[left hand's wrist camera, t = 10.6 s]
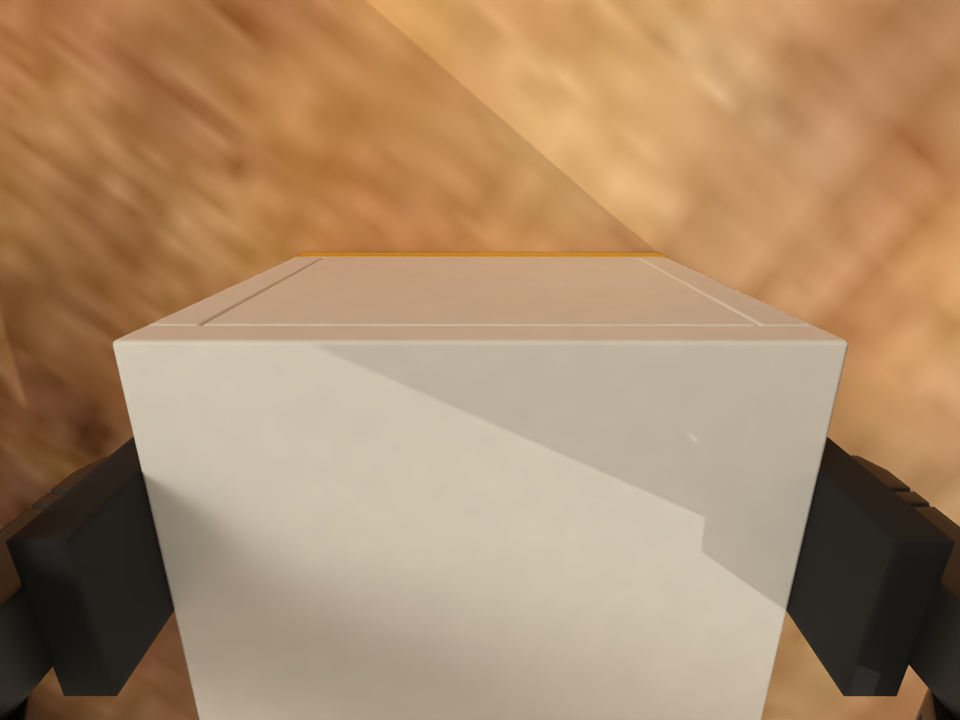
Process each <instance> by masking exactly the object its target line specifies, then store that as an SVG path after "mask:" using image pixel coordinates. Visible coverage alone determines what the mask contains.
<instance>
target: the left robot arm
mask: <svg viewBox="0 0 960 720" xmlns="http://www.w3.org/2000/svg"><path fill="white" fill-rule="evenodd" d="M173 611H174V608H173V603H172V599H171V595H170V590H169V586H168V582H167V577H166V573H165V569H164V564H163V560H162V556H161V551H160V547H159V543H158V539H157V534H156V530H155V526H154V521H153V517H152V513H151V508H150V504H149V500H148V495H147V491H146V487H145V482H144V478H143V474H142V469H141V465H140V461H139V456H138V452H137V448H136V443H135V439H134V437H133V438H131V439H130V440H129V441H128V442H126V443H125V444H124V445H123V446H122V447H120V448H119V449H118V450H117V451H116V452H114V453H113V454H112V455H111V456H109V457H104V458H102V459H100V460H98V461H96V462H94V463H92V464H90V465H88V466H86V467H84V468H82V469H80V470H78V471H76V472H74V473H72V474H71V475H70V476H69V477H67V478H66V479H65V480H64V481H62V482H61V483H60V484H58V485H57V486H56V487H55V488H53V489H52V490H51V494H46V495H44V496H43V497H42V498H41V499H39V500H38V501H37V502H36V503H34V504H33V507H32V509H27V510H25V511H24V512H23V513H22V514H20V515H19V516H18V517H17V518H15V519H14V520H13V521H11V522H10V523H9V524H8V525H6V526H5V527H4V528H3V529H1V530H0V720H38V717H39V710H38V704H37V700H36V698H35V695H34V693H33V689H34V688H35V687H36V686H37V685H38V683H39V682H40V681H41V680H42V679H43V677H44V676H45V675H46V674H47V673H48V671H49V670H50V669H51V668H52V667H53V668H54V670H55V673H56V676H57V678H58V681H59V683H60V686H61V689H62V691H63V694H64V696H117V695H118V693H119V692H120V690H121V689H122V687H123V686H124V685H125V683H126V682H127V680H128V679H129V677H130V676H131V674H132V673H133V671H134V670H135V668H136V667H137V665H138V664H139V662H140V661H141V659H142V658H143V656H144V655H145V653H146V652H147V650H148V649H149V647H150V646H151V644H152V643H153V641H154V640H155V638H156V637H157V635H158V634H159V632H160V631H161V629H162V628H163V626H164V625H165V623H166V622H167V620H168V619H169V617H170V616H171V614H172V613H173ZM787 612H788V613H789V615H790V616H791V618H792V619H793V621H794V622H795V624H796V625H797V627H798V628H799V630H800V631H801V633H802V634H803V636H804V637H805V639H806V640H807V642H808V643H809V645H810V646H811V648H812V649H813V651H814V652H815V654H816V655H817V657H818V658H819V660H820V661H821V663H822V664H823V666H824V667H825V669H826V670H827V672H828V673H829V675H830V676H831V678H832V679H833V681H834V682H835V684H836V685H837V687H838V688H839V690H840V691H841V693H842V694H843V696H897V693H898V691H899V688H900V685H901V683H902V680H903V678H904V675H905V672H906V670H907V667H908V665H910V666H911V667H912V669H913V670H914V671H915V672H916V673H917V675H918V676H919V677H920V678H921V679H922V681H923V682H924V683H925V684H926V685H927V687H928V690H927V693H926V695H925V698H924V700H923V703H922V705H921V707H920V710H919V712H918V715H917V717H916V720H960V527H959V526H958V525H957V524H955V523H954V522H953V521H952V520H950V519H949V518H948V517H946V516H945V515H944V514H943V513H941V512H940V511H939V510H937V509H936V508H935V507H930V506H929V503H928V502H927V501H926V500H925V499H923V498H922V497H921V496H919V495H918V494H917V493H916V492H911V491H910V488H909V487H908V486H907V485H905V484H904V483H903V482H902V481H900V480H899V479H898V478H896V477H895V476H894V475H893V474H891V473H890V472H889V471H887V470H885V469H883V468H881V467H879V466H877V465H875V464H873V463H871V462H869V461H867V460H865V459H863V458H861V457H859V456H850V455H849V454H848V453H846V452H845V451H844V450H843V449H841V448H840V447H839V446H838V445H837V444H835V443H834V442H833V441H832V440H830V439H829V438H828V437H827V439H826V443H825V447H824V452H823V456H822V460H821V464H820V469H819V473H818V477H817V482H816V486H815V490H814V494H813V499H812V503H811V507H810V512H809V516H808V520H807V524H806V529H805V533H804V537H803V542H802V546H801V550H800V555H799V559H798V563H797V567H796V572H795V576H794V580H793V585H792V589H791V593H790V597H789V602H788V606H787Z"/></svg>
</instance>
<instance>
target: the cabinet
mask: <svg viewBox="0 0 960 720" xmlns="http://www.w3.org/2000/svg"><path fill="white" fill-rule="evenodd" d="M113 348H114V353H115V357H116V361H117V366H118V370H119V374H120V379H121V383H122V387H123V392H124V396H125V400H126V404H127V409H128V413H129V417H130V422H131V426H132V430H133V435H134V439H135V443H136V448H137V452H138V456H139V461H140V465H141V469H142V474H143V478H144V482H145V487H146V491H147V495H148V500H149V504H150V508H151V513H152V517H153V521H154V526H155V530H156V534H157V539H158V543H159V547H160V551H161V556H162V560H163V564H164V569H165V573H166V577H167V582H168V586H169V590H170V595H171V599H172V603H173V608H174V612H175V616H176V621H177V625H178V629H179V634H180V638H181V642H182V647H183V651H184V655H185V660H186V664H187V668H188V673H189V677H190V681H191V686H192V690H193V694H194V698H195V703H196V707H197V711H198V716H199V720H761V718H762V713H763V709H764V705H765V700H766V696H767V692H768V688H769V683H770V679H771V675H772V670H773V666H774V662H775V657H776V653H777V649H778V645H779V640H780V636H781V632H782V627H783V623H784V619H785V615H786V610H787V606H788V602H789V597H790V593H791V589H792V585H793V580H794V576H795V572H796V567H797V563H798V559H799V555H800V550H801V546H802V542H803V537H804V533H805V529H806V524H807V520H808V516H809V512H810V507H811V503H812V499H813V494H814V490H815V486H816V482H817V477H818V473H819V469H820V464H821V460H822V456H823V452H824V447H825V443H826V439H827V434H828V430H829V426H830V422H831V417H832V413H833V409H834V404H835V400H836V396H837V391H838V387H839V383H840V379H841V374H842V370H843V366H844V361H845V357H846V353H847V349H848V342H847V341H846V340H843V339H841V338H839V337H837V336H835V335H833V334H830V333H828V332H826V331H824V330H822V329H820V328H817V327H815V326H812V325H811V324H809V323H807V322H804V321H802V320H800V319H798V318H796V317H793V316H791V315H789V314H787V313H785V312H783V311H780V310H778V309H776V308H774V307H772V306H770V305H767V304H765V303H763V302H761V301H759V300H757V299H754V298H752V297H750V296H748V295H746V294H744V293H741V292H739V291H737V290H735V289H733V288H731V287H728V286H726V285H724V284H722V283H720V282H718V281H715V280H713V279H711V278H709V277H707V276H705V275H702V274H700V273H698V272H696V271H694V270H692V269H689V268H687V267H685V266H683V265H681V264H679V263H676V262H674V261H672V260H670V259H668V258H667V256H665V255H662V254H660V253H658V252H302V253H300V254H298V255H296V256H294V258H292V259H290V260H288V261H286V262H284V263H282V264H279V265H277V266H275V267H273V268H271V269H269V270H266V271H264V272H262V273H260V274H258V275H255V276H253V277H251V278H249V279H247V280H245V281H242V282H240V283H238V284H236V285H234V286H232V287H229V288H227V289H225V290H223V291H221V292H219V293H216V294H214V295H212V296H210V297H208V298H206V299H203V300H201V301H199V302H197V303H195V304H193V305H190V306H188V307H186V308H184V309H182V310H180V311H177V312H175V313H173V314H171V315H169V316H167V317H164V318H162V319H160V320H158V321H156V322H154V323H151V324H149V325H148V326H145V327H143V328H141V329H138V330H136V331H134V332H132V333H130V334H128V335H125V336H123V337H121V338H119V339H117V340H115V341H114V342H113Z"/></svg>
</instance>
